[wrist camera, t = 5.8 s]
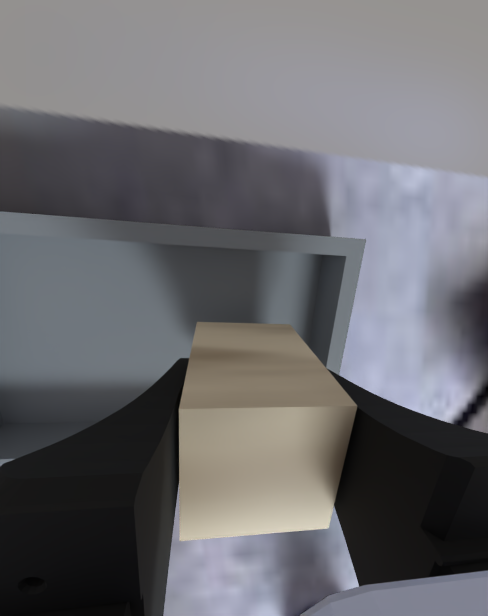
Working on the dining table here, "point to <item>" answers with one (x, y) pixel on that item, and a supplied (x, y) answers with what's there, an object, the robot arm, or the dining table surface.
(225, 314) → the slate tray
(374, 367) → the dining table surface
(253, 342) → the beech block
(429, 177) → the dining table surface
